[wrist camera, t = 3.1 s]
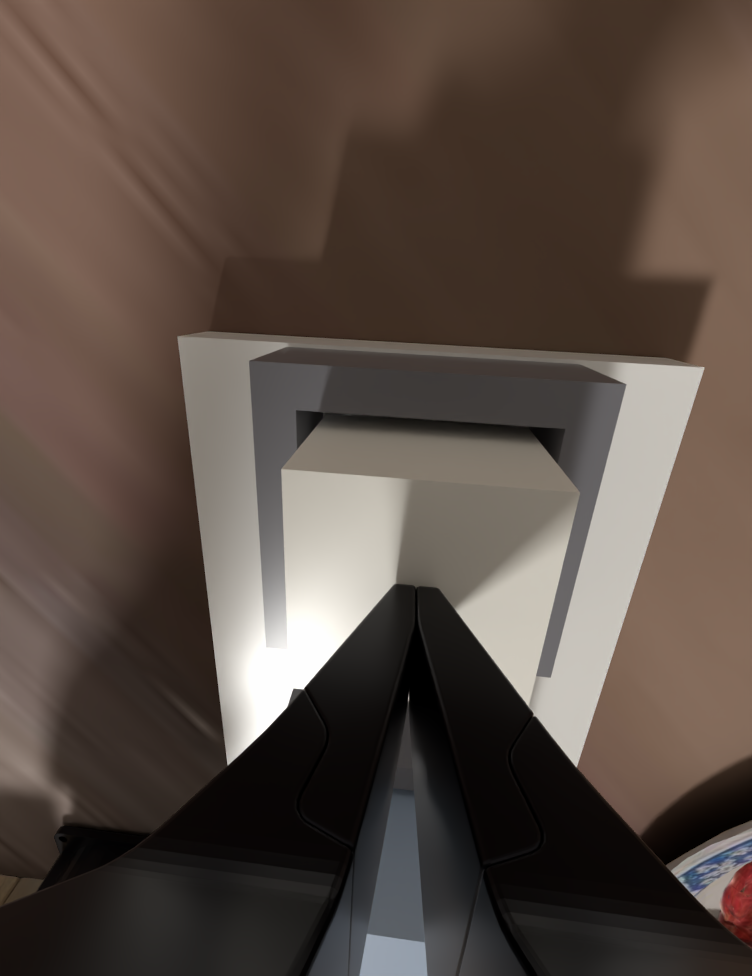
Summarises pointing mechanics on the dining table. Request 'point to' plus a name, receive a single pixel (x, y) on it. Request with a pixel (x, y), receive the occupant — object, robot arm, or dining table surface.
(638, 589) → the dining table surface
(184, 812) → the robot arm
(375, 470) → the ivory key
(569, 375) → the white block holder
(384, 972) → the slate key
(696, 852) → the ceramic plate
